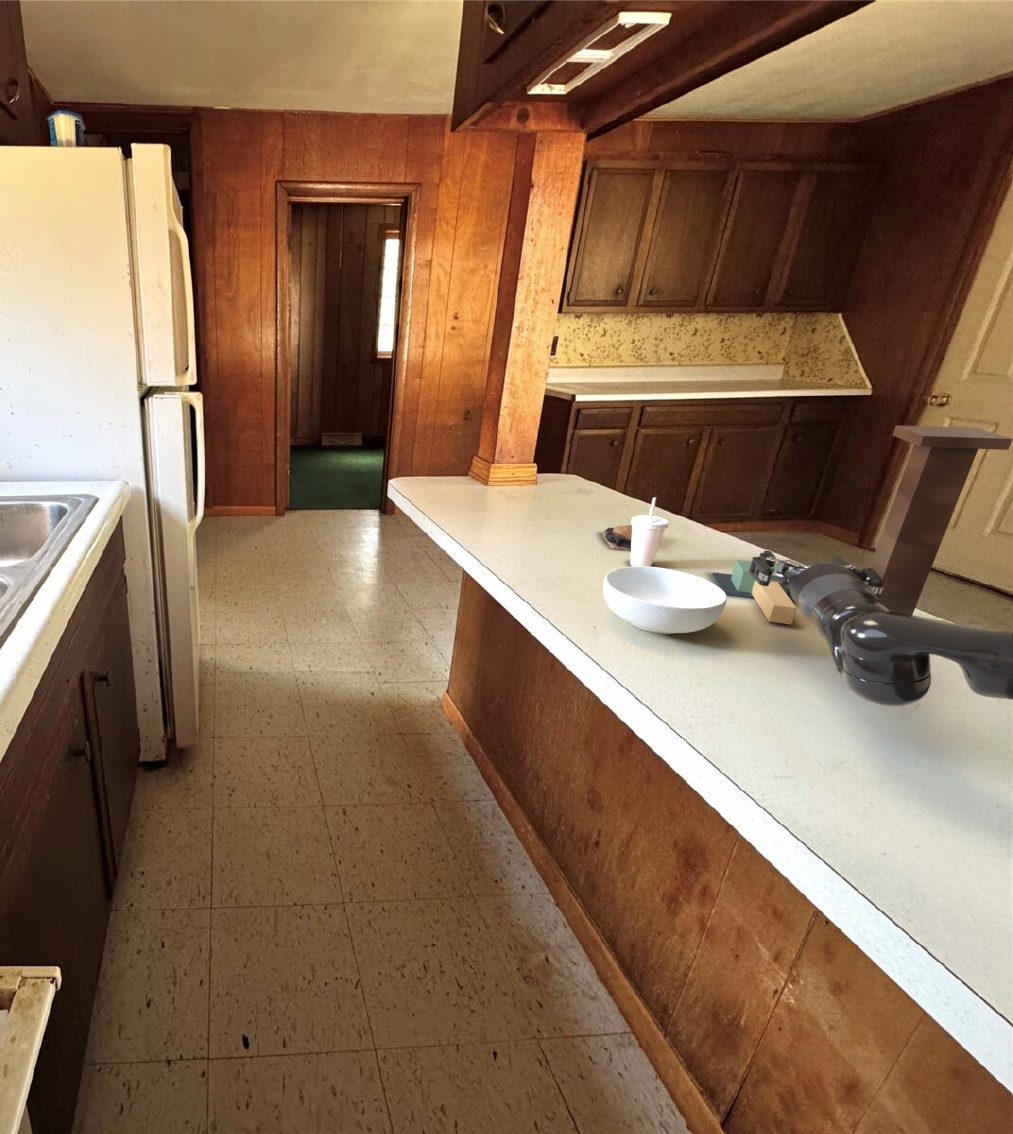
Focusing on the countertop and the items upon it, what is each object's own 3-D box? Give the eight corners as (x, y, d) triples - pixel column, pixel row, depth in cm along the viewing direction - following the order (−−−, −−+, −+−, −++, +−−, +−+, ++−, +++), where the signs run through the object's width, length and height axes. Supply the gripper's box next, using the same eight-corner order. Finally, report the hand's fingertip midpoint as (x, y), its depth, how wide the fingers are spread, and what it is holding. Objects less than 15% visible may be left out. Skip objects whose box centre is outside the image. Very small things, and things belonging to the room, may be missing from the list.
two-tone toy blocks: (776, 584, 115) (782, 564, 113) (807, 626, 100) (814, 604, 98) (730, 579, 118) (736, 559, 116) (753, 619, 103) (760, 597, 101)
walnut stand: (902, 617, 102) (977, 427, 91) (928, 642, 95) (1013, 438, 83) (832, 609, 106) (895, 425, 95) (851, 632, 99) (923, 435, 87)
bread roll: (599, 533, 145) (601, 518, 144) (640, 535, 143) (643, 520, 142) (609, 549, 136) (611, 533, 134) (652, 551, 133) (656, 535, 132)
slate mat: (789, 583, 116) (790, 580, 116) (805, 604, 108) (806, 602, 108) (712, 574, 121) (712, 572, 121) (722, 594, 113) (722, 592, 113)
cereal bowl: (627, 648, 96) (636, 607, 94) (581, 602, 112) (587, 566, 109) (741, 647, 95) (753, 606, 93) (678, 601, 111) (687, 564, 108)
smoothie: (659, 562, 128) (674, 496, 123) (658, 573, 123) (673, 504, 118) (623, 557, 131) (636, 492, 126) (621, 567, 126) (634, 500, 121)
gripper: (762, 616, 88) (737, 575, 102) (894, 634, 82) (850, 587, 96) (776, 567, 86) (749, 531, 99) (915, 582, 80) (866, 542, 93)
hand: (799, 559), depth 97 cm, fingers open, 8 cm apart
